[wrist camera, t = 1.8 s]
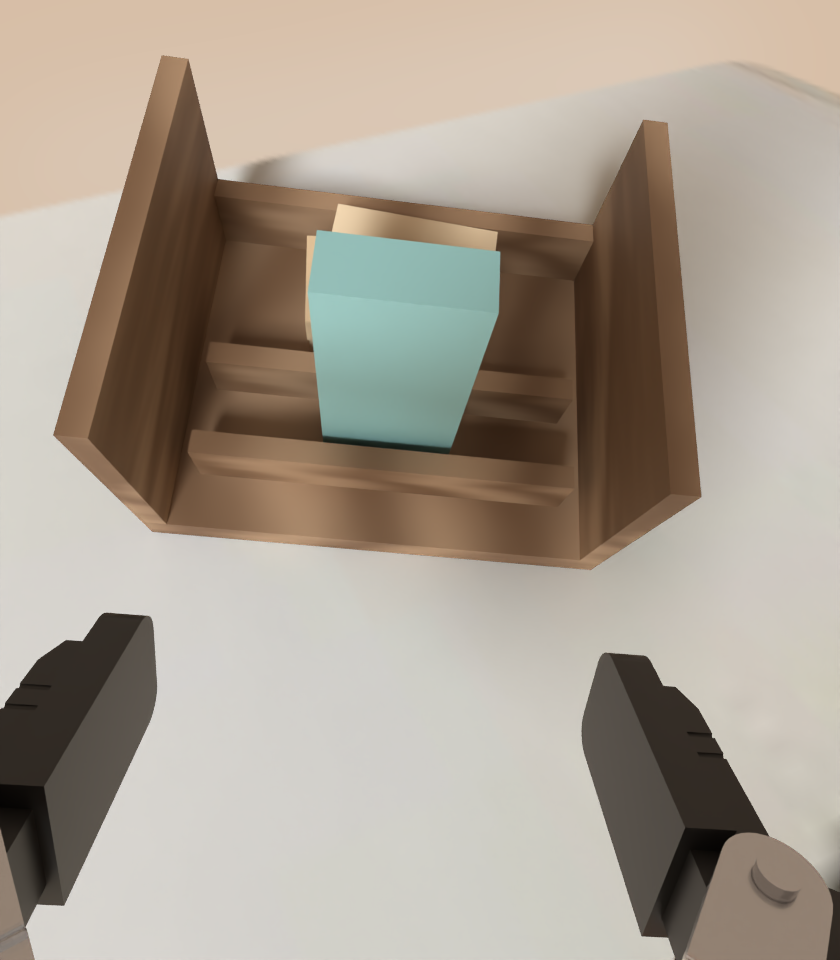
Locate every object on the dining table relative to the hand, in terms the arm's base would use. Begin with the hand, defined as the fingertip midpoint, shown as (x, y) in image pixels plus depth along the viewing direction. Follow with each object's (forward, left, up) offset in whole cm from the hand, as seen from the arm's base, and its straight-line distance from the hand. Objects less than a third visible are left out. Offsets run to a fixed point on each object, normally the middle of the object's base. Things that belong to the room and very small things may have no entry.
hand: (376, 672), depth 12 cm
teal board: (0, -12, -16) cm, 19 cm away
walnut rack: (0, -15, -17) cm, 22 cm away
